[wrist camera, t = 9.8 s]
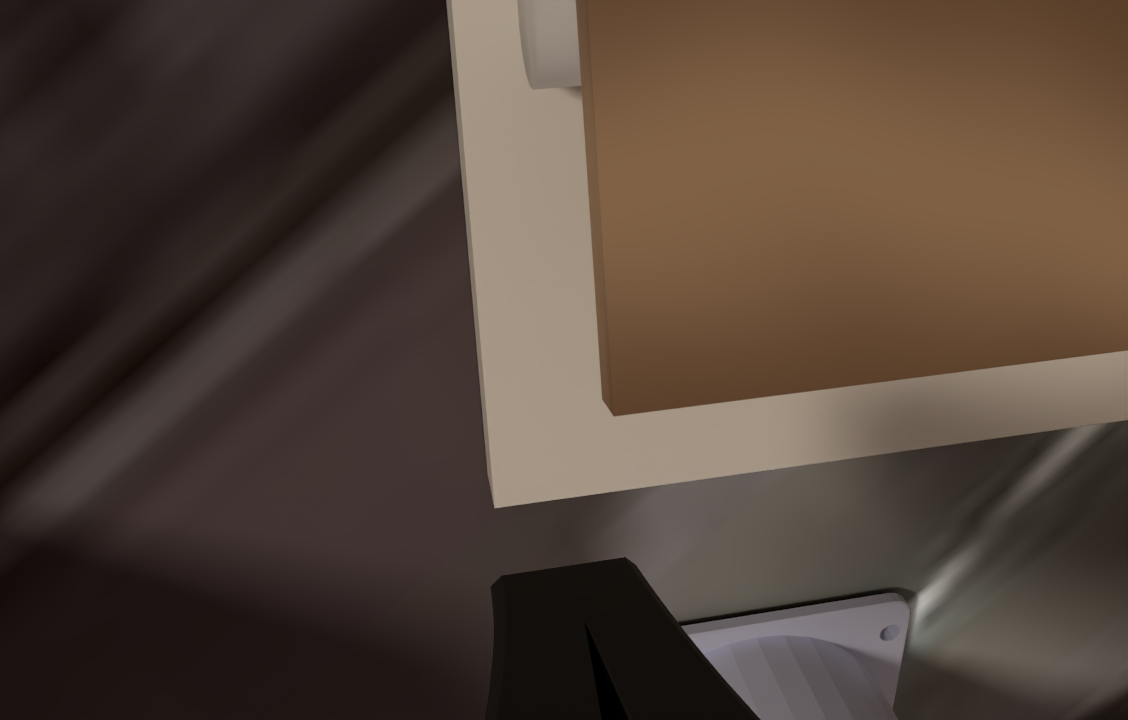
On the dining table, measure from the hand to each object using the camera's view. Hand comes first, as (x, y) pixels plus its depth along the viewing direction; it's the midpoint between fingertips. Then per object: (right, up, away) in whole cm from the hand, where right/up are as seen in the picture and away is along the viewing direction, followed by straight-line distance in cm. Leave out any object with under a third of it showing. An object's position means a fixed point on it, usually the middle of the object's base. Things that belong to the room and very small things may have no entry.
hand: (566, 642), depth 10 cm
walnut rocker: (+5, +8, +4) cm, 10 cm away
